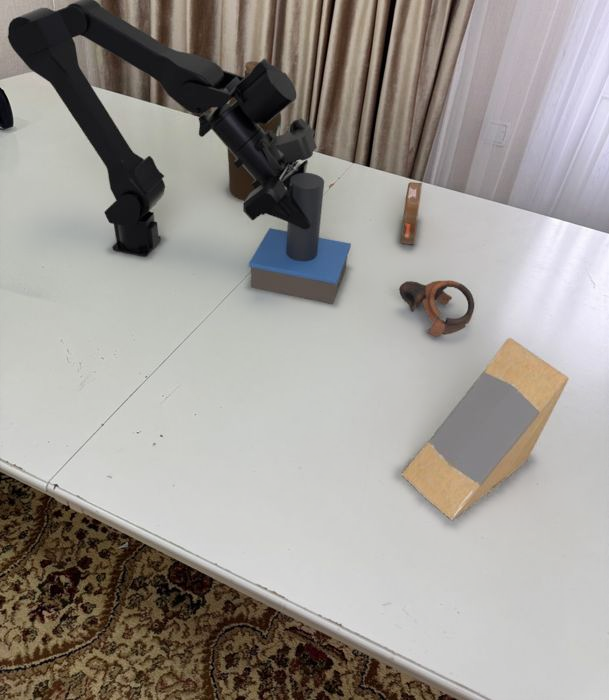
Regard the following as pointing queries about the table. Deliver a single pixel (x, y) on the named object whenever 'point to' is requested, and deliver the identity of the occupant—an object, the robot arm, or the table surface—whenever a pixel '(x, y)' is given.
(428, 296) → the brown ring with knob
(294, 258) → the dark grey cylinder
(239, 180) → the olive oil
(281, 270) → the container
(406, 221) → the tin
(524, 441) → the sandwich container
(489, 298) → the table surface
